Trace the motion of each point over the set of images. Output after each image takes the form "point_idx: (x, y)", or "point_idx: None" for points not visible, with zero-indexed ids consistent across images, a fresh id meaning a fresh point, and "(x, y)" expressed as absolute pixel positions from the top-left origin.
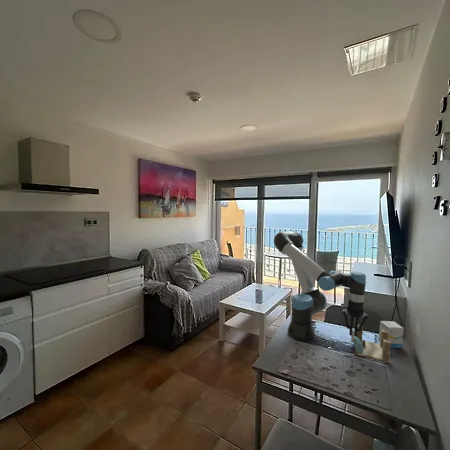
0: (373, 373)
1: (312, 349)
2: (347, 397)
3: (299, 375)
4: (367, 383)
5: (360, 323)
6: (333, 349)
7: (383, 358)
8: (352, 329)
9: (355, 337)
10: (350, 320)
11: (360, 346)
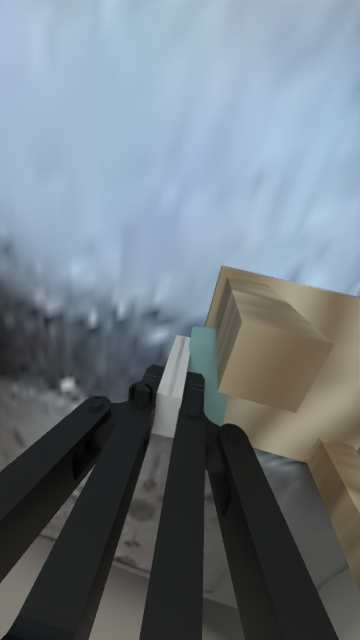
0: None
1: (8, 413)
2: (122, 566)
3: None
4: None
5: (242, 558)
6: (86, 399)
7: (310, 462)
8: (159, 406)
9: (201, 361)
10: (71, 529)
11: None
